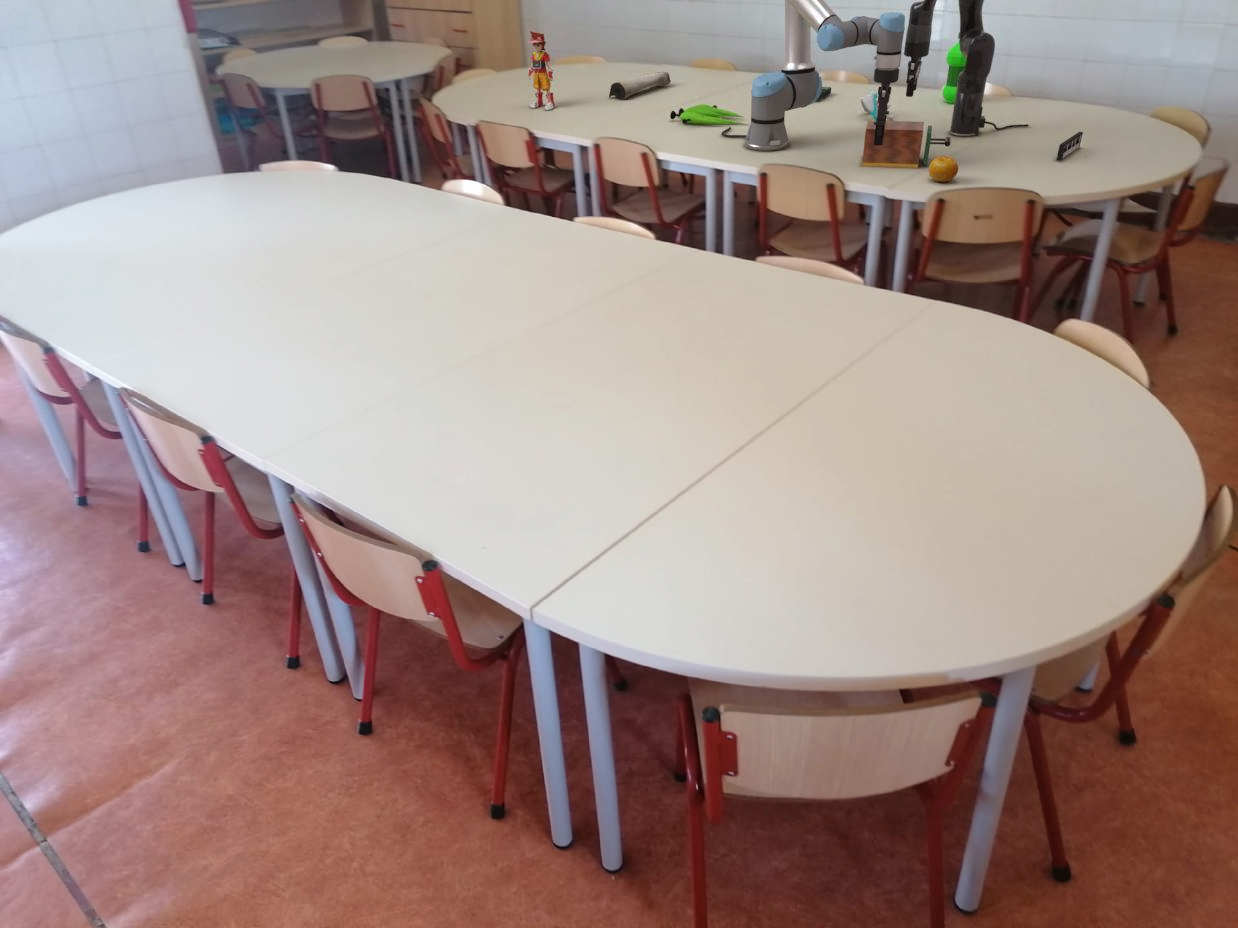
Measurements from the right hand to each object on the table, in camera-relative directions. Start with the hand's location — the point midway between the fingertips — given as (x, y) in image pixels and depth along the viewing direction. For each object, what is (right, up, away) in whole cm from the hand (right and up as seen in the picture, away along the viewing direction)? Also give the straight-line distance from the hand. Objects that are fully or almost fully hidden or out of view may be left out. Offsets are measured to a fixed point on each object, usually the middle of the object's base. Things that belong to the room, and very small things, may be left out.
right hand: (910, 93), depth 292 cm
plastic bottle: (+38, +23, +63) cm, 77 cm away
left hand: (-10, -15, +2) cm, 18 cm away
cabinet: (-5, -21, +4) cm, 22 cm away
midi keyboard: (+52, -19, +1) cm, 55 cm away
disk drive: (-14, +32, +81) cm, 89 cm away
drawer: (+1, -21, +2) cm, 21 cm away
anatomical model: (+3, +12, +51) cm, 53 cm away
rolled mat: (-86, +44, +105) cm, 143 cm away
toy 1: (-128, +32, +91) cm, 160 cm away
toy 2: (-59, +13, +58) cm, 84 cm away
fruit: (+5, -33, -14) cm, 36 cm away
